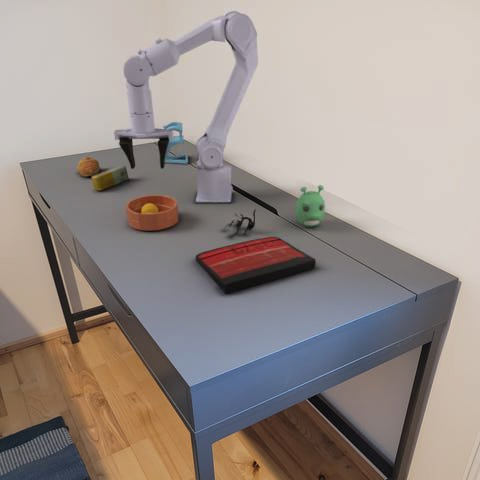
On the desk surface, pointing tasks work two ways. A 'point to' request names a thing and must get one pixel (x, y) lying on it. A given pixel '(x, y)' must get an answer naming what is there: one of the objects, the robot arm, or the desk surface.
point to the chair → (175, 143)
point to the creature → (250, 225)
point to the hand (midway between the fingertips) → (147, 167)
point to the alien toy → (310, 207)
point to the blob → (149, 209)
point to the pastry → (88, 167)
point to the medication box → (110, 178)
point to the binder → (253, 263)
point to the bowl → (153, 220)
